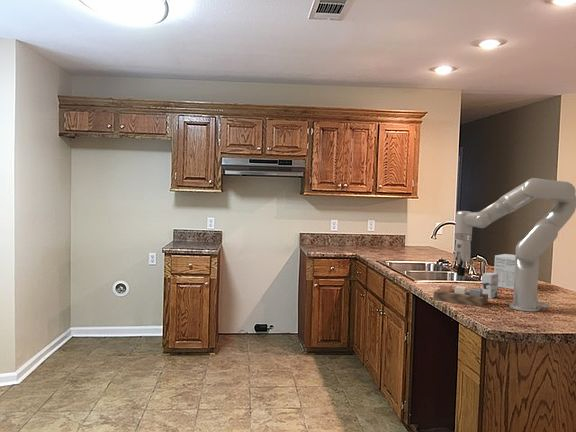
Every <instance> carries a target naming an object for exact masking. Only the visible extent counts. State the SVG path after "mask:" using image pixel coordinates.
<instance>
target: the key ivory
mask: <svg viewBox="0 0 576 432" xmlns="http://www.w3.org/2000/svg"><path fill="white" fill-rule="evenodd" d="M454 290H455V291H454V293H457V294H464V295H465V294H467V291H468V287H467V286H461V285H456V286H454Z"/></svg>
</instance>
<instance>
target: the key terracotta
mask: <svg viewBox="0 0 576 432" xmlns="http://www.w3.org/2000/svg"><path fill="white" fill-rule="evenodd" d="M453 288H454V287H453V284H447V283H442V284H440V285H439V289H440V291H443V292H452V289H453Z"/></svg>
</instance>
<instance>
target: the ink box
mask: <svg viewBox="0 0 576 432" xmlns="http://www.w3.org/2000/svg"><path fill="white" fill-rule="evenodd" d="M481 281H482V282H481V289H483V294H488V299H493V298H495V297H496V298H497V297H498V289H499V287H498V273H494V272H486V273H482V279H481Z"/></svg>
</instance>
